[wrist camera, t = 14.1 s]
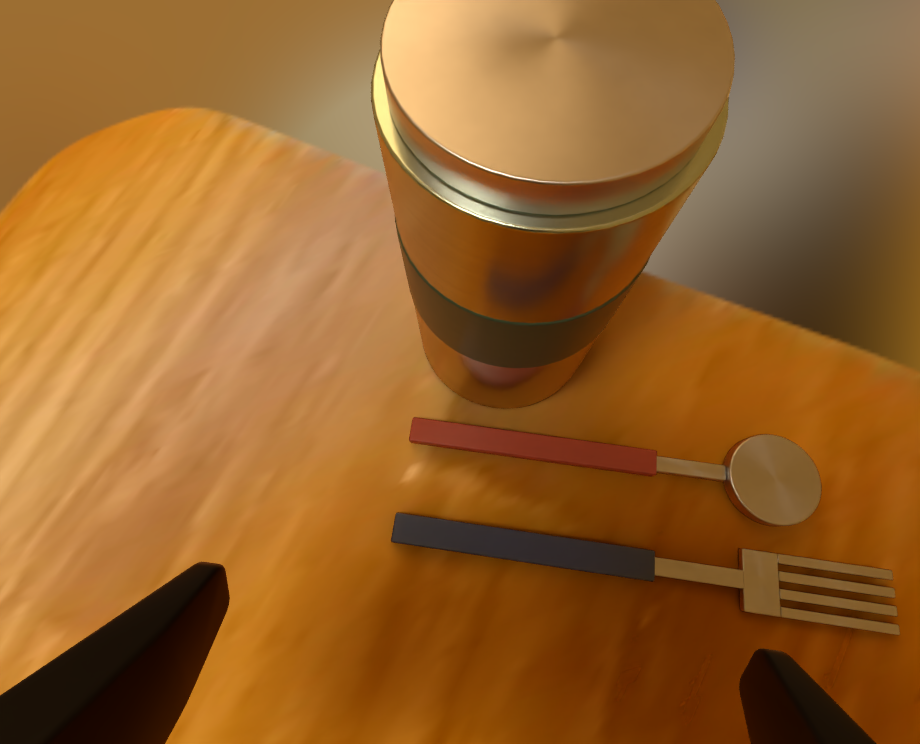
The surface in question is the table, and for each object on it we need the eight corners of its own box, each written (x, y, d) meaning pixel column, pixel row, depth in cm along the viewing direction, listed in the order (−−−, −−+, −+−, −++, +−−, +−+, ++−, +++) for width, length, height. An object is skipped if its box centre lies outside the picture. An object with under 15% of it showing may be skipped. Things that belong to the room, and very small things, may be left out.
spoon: (807, 443, 19) (818, 440, 18) (814, 532, 18) (826, 532, 17) (419, 391, 19) (417, 386, 19) (404, 473, 18) (402, 471, 18)
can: (489, 444, 19) (528, 283, 7) (388, 315, 20) (285, 12, 9) (620, 344, 20) (842, 65, 8) (515, 230, 22) (575, -135, 10)
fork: (885, 569, 17) (897, 570, 17) (893, 633, 17) (905, 636, 16) (400, 498, 18) (398, 497, 18) (389, 556, 18) (387, 557, 17)
